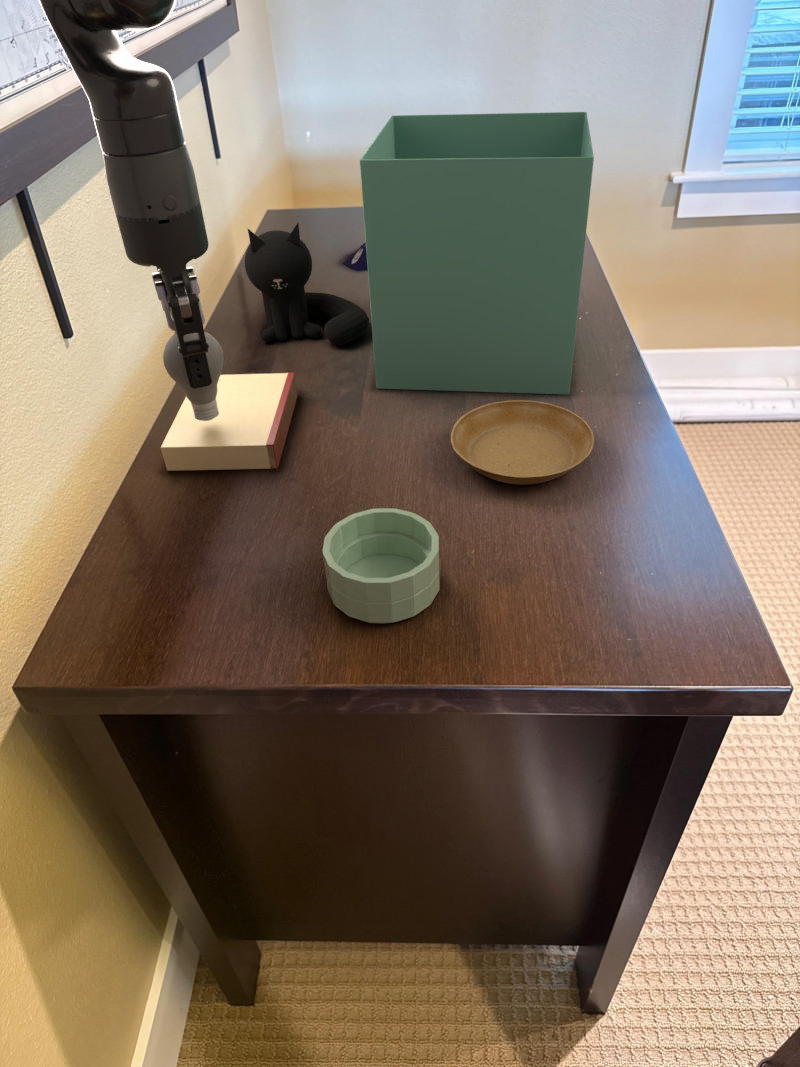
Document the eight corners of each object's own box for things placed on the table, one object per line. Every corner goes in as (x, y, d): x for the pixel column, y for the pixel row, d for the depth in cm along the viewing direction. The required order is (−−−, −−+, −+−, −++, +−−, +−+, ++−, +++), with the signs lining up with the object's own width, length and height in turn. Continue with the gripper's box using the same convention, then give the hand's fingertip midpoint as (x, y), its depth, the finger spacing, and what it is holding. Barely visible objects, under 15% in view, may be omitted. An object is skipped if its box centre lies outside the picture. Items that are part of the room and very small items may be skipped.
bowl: (347, 640, 62) (342, 595, 59) (316, 567, 70) (309, 524, 66) (457, 608, 65) (457, 563, 62) (416, 540, 72) (414, 497, 69)
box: (566, 321, 107) (586, 111, 91) (569, 394, 92) (593, 157, 75) (401, 318, 111) (391, 115, 94) (376, 388, 95) (359, 159, 78)
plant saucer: (584, 506, 75) (587, 484, 73) (436, 487, 78) (435, 466, 77) (597, 427, 86) (599, 406, 84) (466, 414, 89) (466, 394, 88)
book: (277, 469, 82) (273, 444, 80) (167, 471, 83) (160, 447, 81) (297, 395, 95) (294, 372, 93) (201, 397, 95) (196, 374, 93)
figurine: (252, 358, 103) (231, 244, 94) (258, 315, 114) (240, 210, 104) (372, 348, 103) (363, 234, 94) (367, 307, 114) (358, 201, 105)
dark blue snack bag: (332, 259, 131) (330, 235, 128) (402, 238, 137) (402, 215, 135) (363, 274, 125) (361, 249, 122) (435, 251, 131) (435, 227, 129)
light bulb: (168, 427, 82) (144, 339, 76) (199, 401, 86) (179, 315, 80) (216, 436, 80) (195, 347, 74) (246, 409, 84) (229, 322, 78)
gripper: (108, 187, 74) (152, 350, 84) (119, 231, 63) (168, 411, 74) (187, 176, 75) (220, 337, 86) (211, 217, 65) (245, 395, 75)
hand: (196, 371), depth 80 cm, fingers closed on light bulb, 6 cm apart
